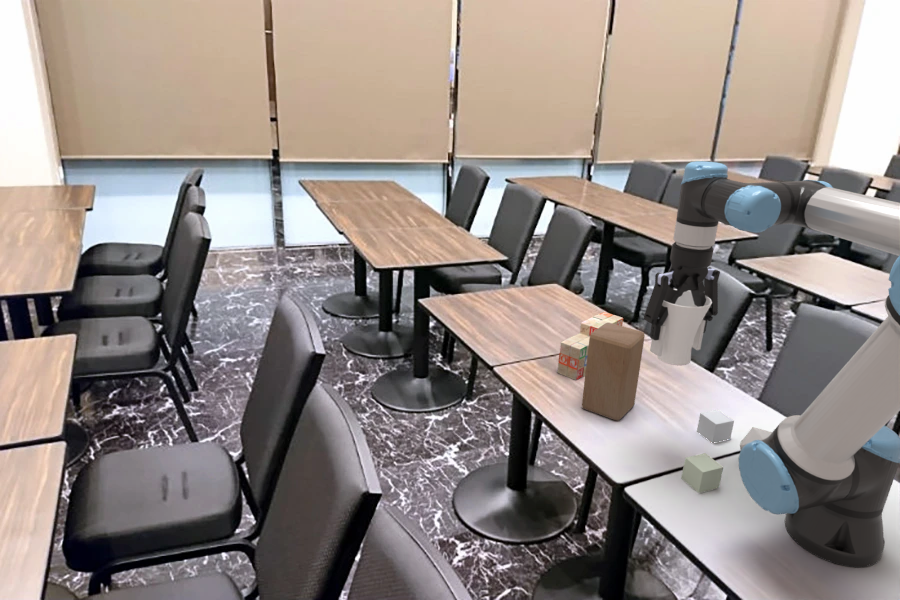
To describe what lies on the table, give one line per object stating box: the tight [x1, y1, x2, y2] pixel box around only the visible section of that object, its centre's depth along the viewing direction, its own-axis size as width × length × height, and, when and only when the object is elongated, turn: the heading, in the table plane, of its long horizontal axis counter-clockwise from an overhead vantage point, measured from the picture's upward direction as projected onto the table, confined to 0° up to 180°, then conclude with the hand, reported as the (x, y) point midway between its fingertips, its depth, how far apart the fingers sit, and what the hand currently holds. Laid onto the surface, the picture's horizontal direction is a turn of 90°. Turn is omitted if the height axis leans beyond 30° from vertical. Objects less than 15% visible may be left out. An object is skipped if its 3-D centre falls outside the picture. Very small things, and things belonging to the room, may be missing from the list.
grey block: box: [739, 426, 773, 451], centre depth 131 cm, size 8×9×10 cm
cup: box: [656, 288, 712, 367], centre depth 128 cm, size 10×10×14 cm
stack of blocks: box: [557, 311, 624, 381], centre depth 172 cm, size 21×6×12 cm, turn 136°
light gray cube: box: [696, 409, 735, 444], centre depth 142 cm, size 5×5×5 cm
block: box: [581, 323, 646, 421], centre depth 149 cm, size 10×10×20 cm
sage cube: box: [681, 452, 724, 494], centre depth 125 cm, size 5×5×5 cm
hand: (675, 350), depth 129 cm, fingers closed on cup, 9 cm apart
